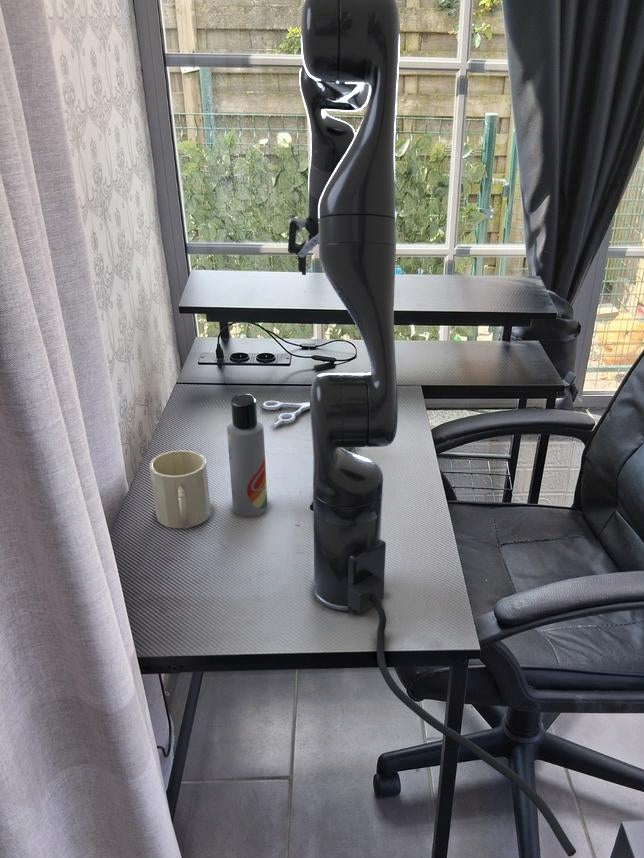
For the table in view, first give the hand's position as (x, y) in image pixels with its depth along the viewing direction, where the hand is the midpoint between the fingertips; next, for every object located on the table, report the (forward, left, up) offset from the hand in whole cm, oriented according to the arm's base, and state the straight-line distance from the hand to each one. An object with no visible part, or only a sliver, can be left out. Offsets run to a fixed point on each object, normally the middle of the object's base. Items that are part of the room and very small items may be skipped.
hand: (327, 274), depth 144 cm
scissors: (+7, -2, -30) cm, 31 cm away
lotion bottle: (-15, +31, -30) cm, 46 cm away
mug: (-10, +41, -30) cm, 52 cm away
